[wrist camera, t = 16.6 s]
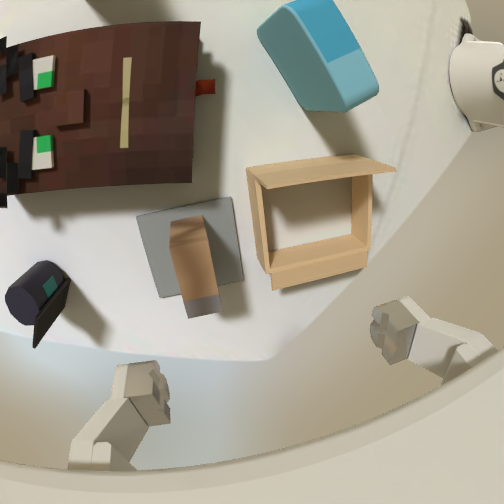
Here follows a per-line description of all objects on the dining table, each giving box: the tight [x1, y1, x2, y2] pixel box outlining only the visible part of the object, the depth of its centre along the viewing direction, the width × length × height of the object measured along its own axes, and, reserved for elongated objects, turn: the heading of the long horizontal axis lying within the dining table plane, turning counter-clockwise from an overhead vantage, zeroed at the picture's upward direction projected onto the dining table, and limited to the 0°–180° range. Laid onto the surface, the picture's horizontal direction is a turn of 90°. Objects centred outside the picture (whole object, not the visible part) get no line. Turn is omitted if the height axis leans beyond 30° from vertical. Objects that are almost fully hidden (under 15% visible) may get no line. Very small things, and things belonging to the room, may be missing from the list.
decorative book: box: [0, 21, 215, 208], centre depth 27 cm, size 19×8×30 cm
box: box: [169, 215, 223, 319], centre depth 36 cm, size 4×9×8 cm, turn 7°
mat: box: [136, 197, 244, 298], centre depth 40 cm, size 12×12×1 cm
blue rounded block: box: [257, 0, 379, 113], centre depth 28 cm, size 12×4×12 cm, turn 32°
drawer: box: [246, 154, 396, 290], centre depth 38 cm, size 15×15×10 cm
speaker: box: [5, 260, 71, 348], centre depth 33 cm, size 8×6×10 cm
